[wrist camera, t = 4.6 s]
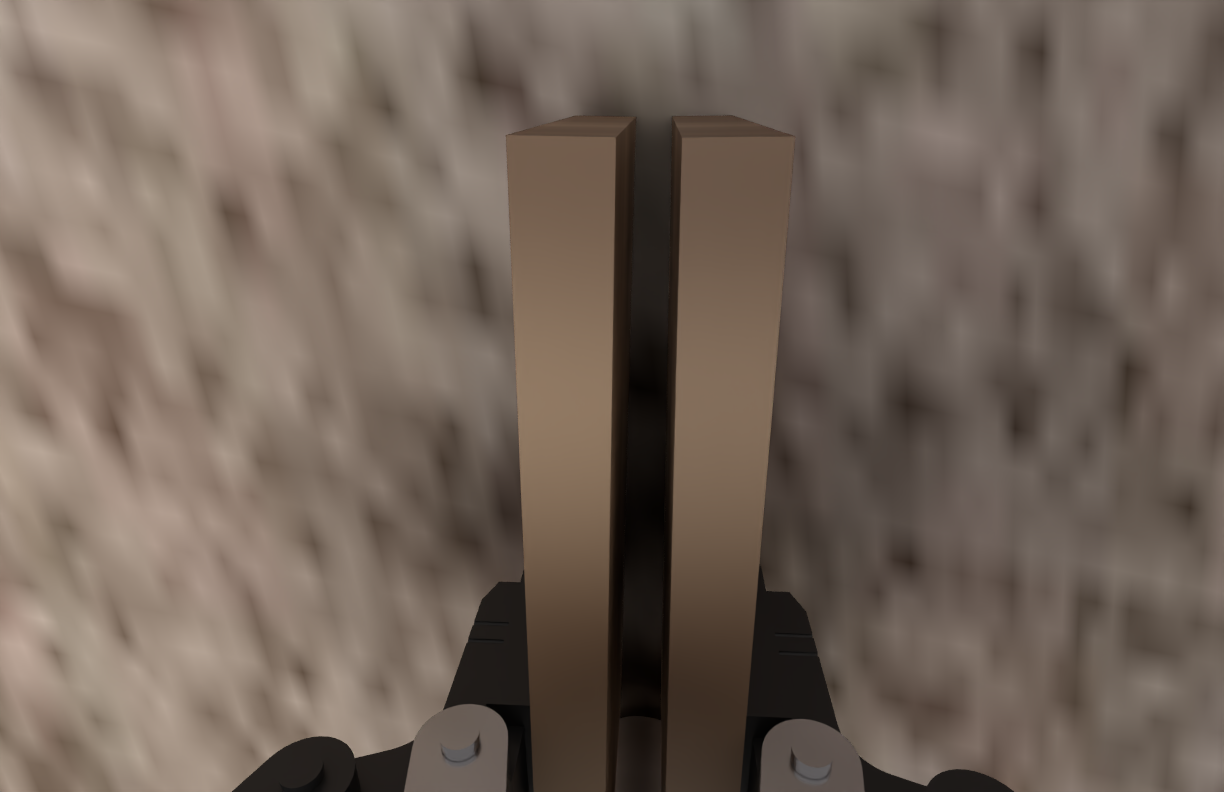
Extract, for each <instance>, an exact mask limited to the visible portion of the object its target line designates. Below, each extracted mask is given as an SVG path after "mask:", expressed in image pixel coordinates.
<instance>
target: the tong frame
mask: <svg viewBox="0 0 1224 792" xmlns="http://www.w3.org/2000/svg"><path fill="white" fill-rule="evenodd" d="M794 147H795V136H792V135H789V134H786V133H783V132H780V131H777V130H774V129H771V128H768V127H765V126H762V125H759V124H756V123H753V122H750V121H747V120H744V119H741V118H738V117H735V116H672V152H671V205H670V257H669V309H668V361H667V413H666V465H665V517H664V570H663V622H662V674H661V792H740V788H741V776H742V764H743V752H744V740H745V728H746V716H747V705H748V693H749V681H750V669H751V657H752V645H753V633H754V622H755V610H756V598H757V586H758V574H759V562H760V550H761V538H762V527H763V515H764V503H765V491H766V479H767V467H768V455H769V444H770V432H771V420H772V408H773V396H774V384H775V372H776V360H777V349H778V337H779V325H780V313H781V301H782V289H783V277H784V266H785V254H786V242H787V230H788V218H789V206H790V194H791V182H792V171H793V159H794Z"/></svg>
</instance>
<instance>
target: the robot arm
mask: <svg viewBox="0 0 1224 792" xmlns="http://www.w3.org/2000/svg"><path fill="white" fill-rule="evenodd" d="M232 792H534V788H533V765H532V741H531V717H530V693H529V670H528V646H527V622H526V599H525V575H524V571H523V575H522V578H521V582H499V583H498V584H497V585H496V586H495V587H494V588H493V589H492V590H491V591H490V592H489V593H488V594H487V595H486V596H485V597H484V598H483V599H482V601H481V604H480V606H479V609H478V612H477V615H476V618H475V621H474V625H473V627H472V629H471V632H470V635H469V638H468V643H467V644H466V647H465V649H464V652H463V655H462V658H461V661H460V664H459V667H458V670H457V672H456V675H455V678H454V681H453V684H452V687H451V690H450V692H449V695H448V698H447V701H446V704H445V707H444V709H443V711H441V712H439V713H437V714H436V715H434V716H433V717H431V718H430V719H429V720H428V721H427V722H426V723H425V724H424V725H423V726H422V727H421V729H420V730H419V731H418V733H417V735H416V737H415V739H414V741H412V742H410V743H408V744H406V745H403V746H401V747H398V748H395V749H391V750H388V751H383V752H379V753H375V754H371V755H367V756H362V757H358V758H354V755H353V752H352V750H351V749H350V748H349V746H348V745H347V744H345V743H344V742H342V741H341V740H338V739H336V738H332V737H322V736H319V737H311V738H306V739H302V740H300V741H297V742H294V743H292V744H290V745H288V746H286V747H284V748H283V749H281V750H280V751H278V752H277V753H275V754H274V755H273V756H272V757H270V758H269V759H268V760H267V761H266V762H265V763H263V764H262V765H261V766H260V767H259V768H258V769H257V770H256V771H255V772H253V773H252V774H251V775H250V776H249V777H248V778H247V779H246V780H244V781H243V782H242V783H241V784H240V785H239V786H238V787H237V788H235V789H234V790H233V791H232ZM740 792H1014V791H1012V790H1011V789H1010V788H1008V787H1007V786H1006V785H1004V784H1003V783H1001V782H999V781H997V780H996V779H994V778H991V777H989V776H987V775H984V774H981V773H978V772H975V771H970V770H960V769H956V770H948V771H945V772H942V773H940V774H938V775H936V776H935V777H934V778H933V779H932V780H931V781H930V782H929V784H928V786H924V785H921V784H918V783H915V782H912V781H909V780H906V779H903V778H900V777H897V776H894V775H891V774H888V773H886V772H883V771H881V770H879V769H877V768H875V767H873V766H872V765H870V764H869V763H867V762H866V761H864V760H863V759H862V758H861V757H860V756H859V755H858V753H857V751H856V750H855V748H854V747H853V745H852V744H851V743H850V742H849V741H848V739H846V738H845V737H844V736H843V735H842V734H841V733H840V730H839V727H838V725H837V721H836V717H835V714H834V710H833V707H832V703H831V699H830V696H829V692H828V689H827V685H826V681H825V678H824V674H823V671H822V667H821V664H820V660H819V657H818V656H817V649H816V646H815V642H814V638H812V631H811V628H810V624H809V620H808V617H807V613H806V611H805V610H804V609H803V608H802V606H801V605H800V604H799V603H798V602H797V601H796V599H795V598H794V597H793V596H792V595H791V594H790V592H772V591H766V589H765V584H764V579H763V574H762V570H761V566H760V564H759V574H758V586H757V598H756V610H755V622H754V633H753V645H752V657H751V669H750V681H749V693H748V705H747V716H746V728H745V740H744V752H743V764H742V776H741V788H740Z"/></svg>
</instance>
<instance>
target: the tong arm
mask: <svg viewBox="0 0 1224 792" xmlns="http://www.w3.org/2000/svg"><path fill="white" fill-rule="evenodd" d="M635 140H636V117H620V116H573V117H569V118H566V119H562V120H558V121H555V122H551V123H548V124H544V125H541V126H537V127H533V128H530V129H526V130H523V131H519V132H516V133H512V134H508V135H506V148H507V172H508V195H509V219H510V243H511V267H512V290H513V314H514V338H515V361H516V385H517V409H518V433H519V456H520V480H521V504H522V527H523V551H524V575H525V599H526V622H527V646H528V670H529V693H530V717H531V741H532V765H533V788H534V792H661V720H658V719H655V718H650V717H643V716H631V717H624V718H620V707H621V671H622V633H623V595H624V557H625V520H626V482H627V444H628V406H629V368H630V330H631V292H632V254H633V216H634V178H635Z"/></svg>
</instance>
